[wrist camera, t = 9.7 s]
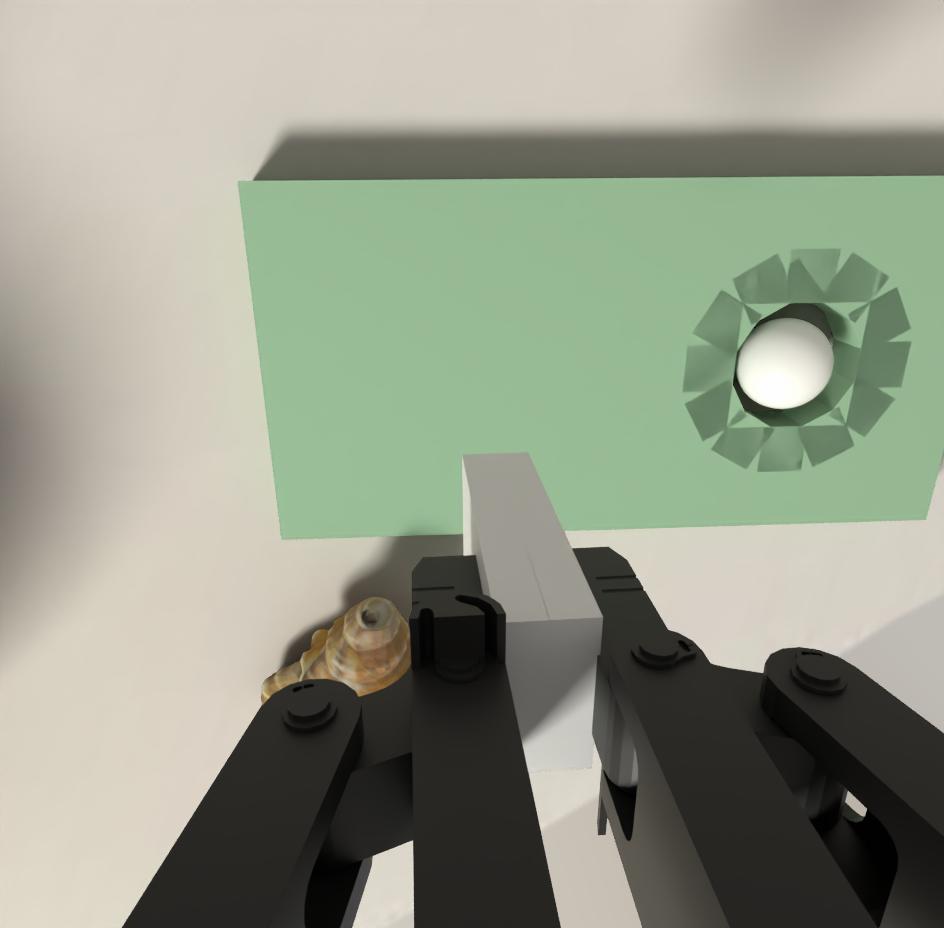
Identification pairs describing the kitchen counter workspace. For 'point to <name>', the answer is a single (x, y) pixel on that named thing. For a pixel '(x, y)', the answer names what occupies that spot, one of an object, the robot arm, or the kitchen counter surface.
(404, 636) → the seashell
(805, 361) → the ball
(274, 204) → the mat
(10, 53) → the kitchen counter surface
